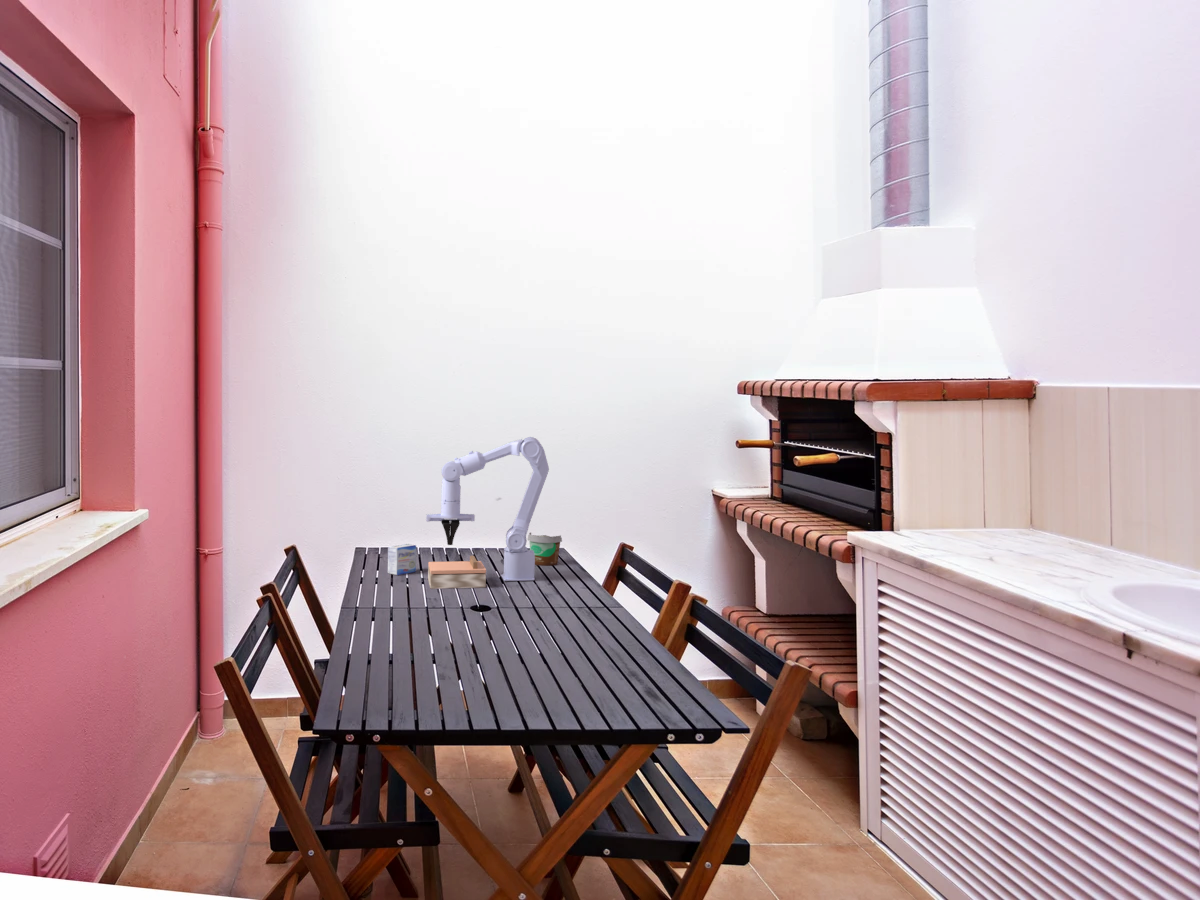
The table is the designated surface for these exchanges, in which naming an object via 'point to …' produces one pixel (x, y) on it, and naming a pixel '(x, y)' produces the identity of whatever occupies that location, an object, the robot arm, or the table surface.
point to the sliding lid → (457, 567)
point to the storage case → (456, 580)
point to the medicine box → (402, 559)
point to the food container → (545, 549)
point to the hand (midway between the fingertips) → (449, 544)
